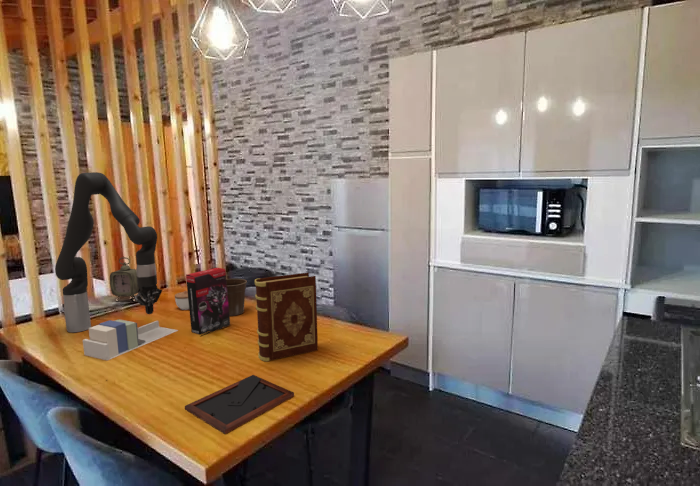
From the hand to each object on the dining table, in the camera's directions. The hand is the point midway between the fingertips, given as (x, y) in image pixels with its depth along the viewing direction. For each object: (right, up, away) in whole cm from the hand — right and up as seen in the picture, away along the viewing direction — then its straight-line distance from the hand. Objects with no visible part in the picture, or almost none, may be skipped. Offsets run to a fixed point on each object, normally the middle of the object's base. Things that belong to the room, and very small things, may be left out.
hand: (149, 313), depth 180 cm
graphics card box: (+23, -9, +10) cm, 27 cm away
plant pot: (+26, -6, +35) cm, 43 cm away
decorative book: (+61, -13, -16) cm, 65 cm away
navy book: (-7, -12, -14) cm, 20 cm away
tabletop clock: (-41, -3, +60) cm, 73 cm away
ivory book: (-9, -13, -18) cm, 24 cm away
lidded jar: (-1, -5, +44) cm, 44 cm away
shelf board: (-3, -12, -5) cm, 13 cm away
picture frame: (+53, -19, -52) cm, 77 cm away
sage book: (-5, -11, -10) cm, 16 cm away
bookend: (-3, -11, -7) cm, 13 cm away
